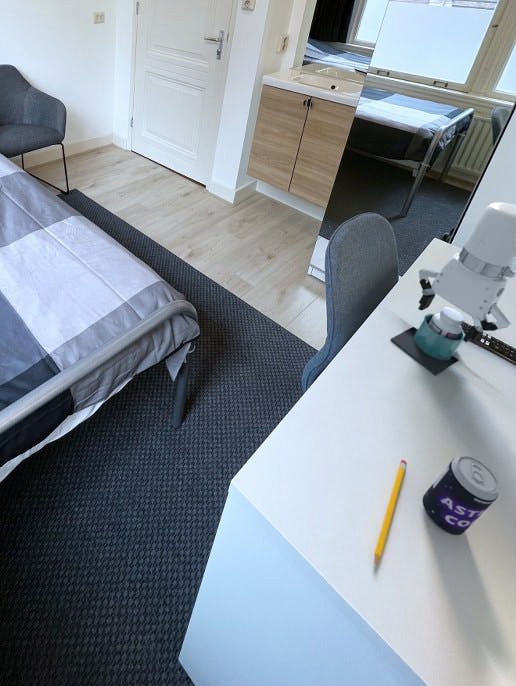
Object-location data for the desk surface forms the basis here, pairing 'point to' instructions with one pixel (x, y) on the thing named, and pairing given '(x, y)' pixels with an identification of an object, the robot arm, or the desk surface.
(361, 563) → the desk surface
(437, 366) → the dark grey rectangular plate
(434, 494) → the beverage can
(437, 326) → the pill bottle
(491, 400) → the desk surface
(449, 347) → the cup
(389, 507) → the pencil
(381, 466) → the desk surface
